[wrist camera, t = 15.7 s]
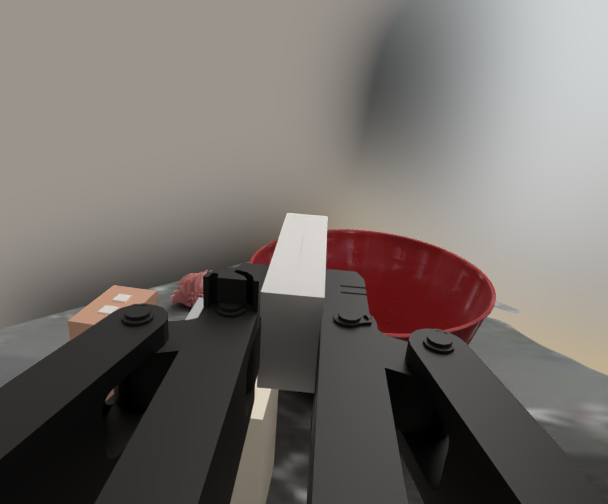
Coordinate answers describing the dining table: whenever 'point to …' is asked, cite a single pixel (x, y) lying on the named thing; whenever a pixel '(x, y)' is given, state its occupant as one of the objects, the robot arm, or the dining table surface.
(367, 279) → the mixing bowl
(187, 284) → the flower
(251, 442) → the cream block
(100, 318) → the terracotta block
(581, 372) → the dining table surface
